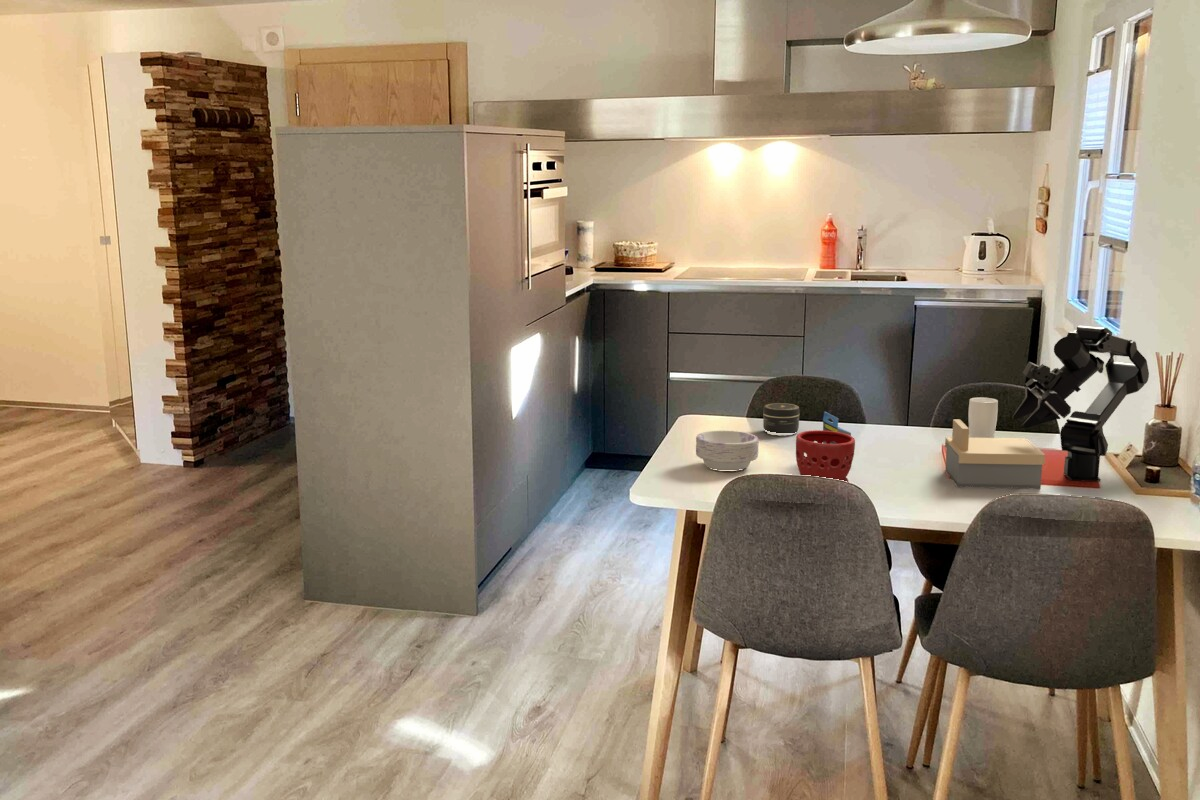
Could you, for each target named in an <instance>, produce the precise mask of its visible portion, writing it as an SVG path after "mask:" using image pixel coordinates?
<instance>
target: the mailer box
mask: <svg viewBox="0 0 1200 800" xmlns="http://www.w3.org/2000/svg"><path fill="white" fill-rule="evenodd" d="M945 451H946V452H945V470H944V471H945V473H946V474H947V475H948V477H949V478H950V479H951V480H952V481H953V483H954V485H955V486H956V487H957V488H976V489H978V488H980V489H981V488H982V489H984V488H985V489H1025V490H1026V489H1032V490H1034V489H1036V490H1037V489H1038V490H1040V489H1041V487H1042V472H1043V465H1026V464H968V463H959V456H958V454H957V453H956V452H955V451H954V450H953V449H952V448H951V446H950V445H949V444H948V443H947V447H946V449H945Z"/></svg>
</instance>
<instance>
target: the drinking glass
mask: <svg viewBox="0 0 1200 800" xmlns="http://www.w3.org/2000/svg"><path fill="white" fill-rule="evenodd" d="M968 403H969V404H968V428H969V438H995V433H996V429H997V428H996V426H997V422H998V412H999V407H998V406H999V400H998V399H996V398H991V397H990V398H989V397H980V396H979V397H972V398H970V399H969V401H968Z"/></svg>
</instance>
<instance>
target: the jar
mask: <svg viewBox="0 0 1200 800" xmlns="http://www.w3.org/2000/svg"><path fill="white" fill-rule="evenodd" d="M762 411H763V412H762V413H763V420H762V421H763V424H762V425H763V430H764V429H765V430H767V431H770V432H776V433H795V432H797V431H798V430H799V428H800V427H799V426H800V407H799V406H798V405H796V404H794V403H786V402H781V403H780V402H778V403H777V402H775V403H773V402H772V403H768V404H765V405H764V406H763V410H762ZM797 433H798V432H797Z"/></svg>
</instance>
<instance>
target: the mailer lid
mask: <svg viewBox="0 0 1200 800" xmlns="http://www.w3.org/2000/svg"><path fill="white" fill-rule="evenodd" d="M944 441H945V442H944V448H947V443H948V444H949V445H950V446H951V448H952V449H953V450H954V451H955V452H956V453H957V454H958V456H959V463H968V464H1026V465H1042V466H1044V465H1045V463H1046V462H1045V459H1046V454H1045V453H1044V452H1043V451H1042V450H1040V449H1039V448H1038V447H1036V446H1035V445H1034V444H1033V443H1032V442H1031V441H1030V440H1029V439H1027V438H1026V437H1025V438H1024V437H1023V438H1022V437H1021V438H1019V437H994V438H969V426H967V425H966V423H964V421H962V420H961V419H959V418H958V419H952V436H950V437H949V436H947V437H945V440H944Z"/></svg>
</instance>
